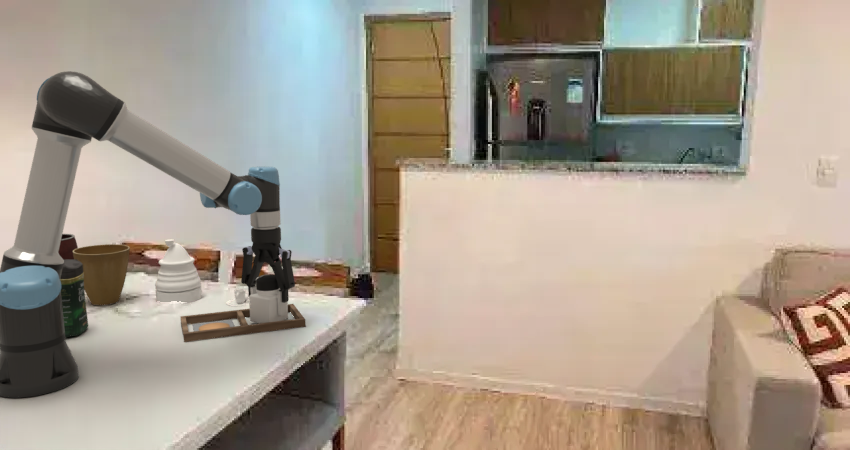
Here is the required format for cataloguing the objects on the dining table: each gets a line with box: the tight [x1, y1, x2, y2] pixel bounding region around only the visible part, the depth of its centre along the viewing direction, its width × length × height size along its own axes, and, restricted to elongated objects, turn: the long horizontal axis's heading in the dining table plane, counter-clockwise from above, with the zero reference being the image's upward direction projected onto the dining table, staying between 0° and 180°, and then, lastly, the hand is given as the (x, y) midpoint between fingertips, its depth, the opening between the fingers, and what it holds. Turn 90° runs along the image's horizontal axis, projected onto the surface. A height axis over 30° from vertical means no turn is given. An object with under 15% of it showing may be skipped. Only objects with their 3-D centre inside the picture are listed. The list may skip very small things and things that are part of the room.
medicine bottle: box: [248, 274, 289, 324], centre depth 176 cm, size 7×7×12 cm
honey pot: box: [154, 238, 203, 304], centre depth 198 cm, size 13×13×18 cm
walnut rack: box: [179, 303, 306, 343], centre depth 174 cm, size 15×30×2 cm, turn 112°
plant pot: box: [73, 243, 131, 306], centre depth 195 cm, size 15×15×16 cm
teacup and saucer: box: [225, 288, 249, 307], centre depth 195 cm, size 9×8×4 cm
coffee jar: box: [60, 259, 89, 339], centre depth 167 cm, size 10×8×19 cm
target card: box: [191, 319, 235, 331], centre depth 171 cm, size 10×10×1 cm
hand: (268, 312), depth 176 cm, fingers closed on medicine bottle, 8 cm apart
